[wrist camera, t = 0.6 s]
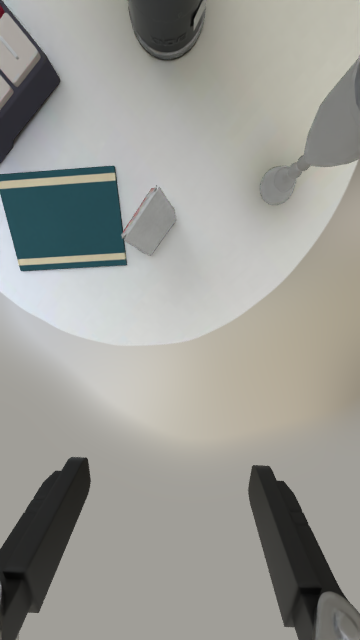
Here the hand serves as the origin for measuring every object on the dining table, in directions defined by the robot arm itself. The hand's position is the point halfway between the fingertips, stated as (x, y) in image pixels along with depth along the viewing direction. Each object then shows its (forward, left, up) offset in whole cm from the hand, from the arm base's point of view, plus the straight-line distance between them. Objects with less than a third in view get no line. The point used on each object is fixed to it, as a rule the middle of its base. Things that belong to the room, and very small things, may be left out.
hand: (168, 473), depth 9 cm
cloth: (-18, -17, -26) cm, 36 cm away
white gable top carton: (-16, -3, -27) cm, 31 cm away
